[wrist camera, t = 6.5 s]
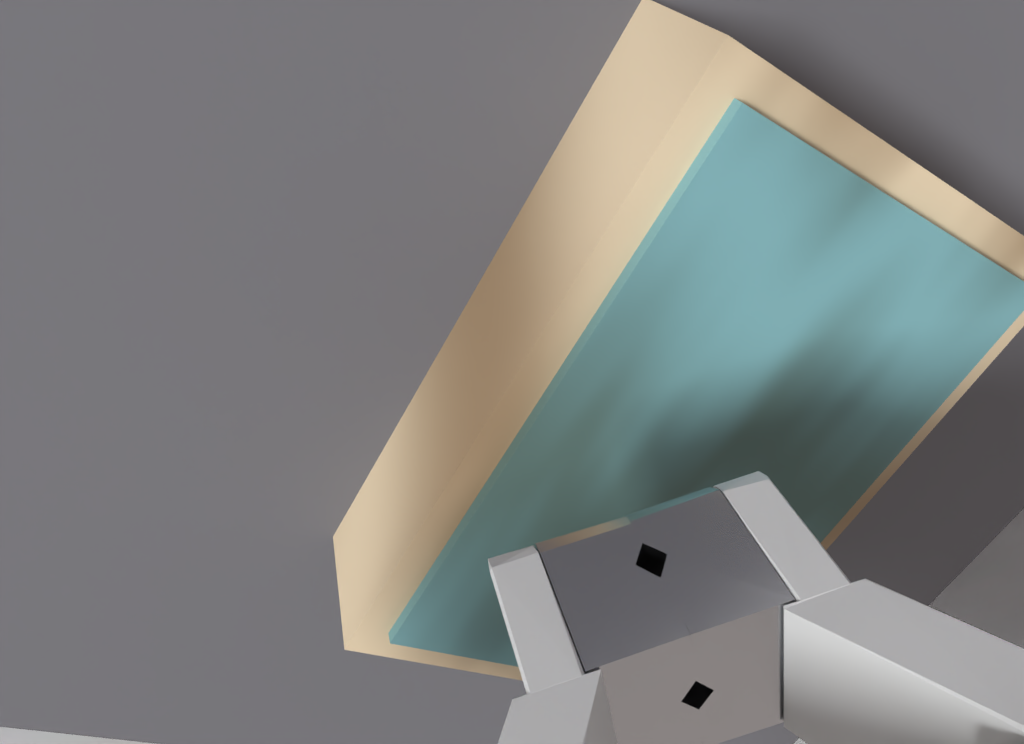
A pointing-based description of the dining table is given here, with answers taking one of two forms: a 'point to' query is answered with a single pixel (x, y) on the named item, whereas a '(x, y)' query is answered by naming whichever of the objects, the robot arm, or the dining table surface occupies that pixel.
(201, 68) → the rubber mat
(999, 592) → the dining table surface
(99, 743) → the dining table surface
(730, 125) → the birch tile
